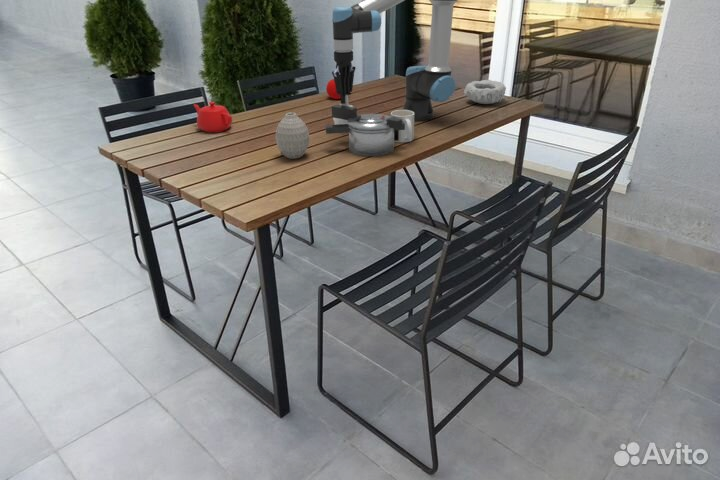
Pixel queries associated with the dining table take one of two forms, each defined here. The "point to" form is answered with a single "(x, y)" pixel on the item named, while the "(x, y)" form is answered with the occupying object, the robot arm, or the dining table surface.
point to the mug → (408, 119)
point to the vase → (292, 136)
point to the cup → (340, 121)
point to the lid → (365, 119)
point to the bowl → (485, 91)
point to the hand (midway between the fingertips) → (345, 110)
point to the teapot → (213, 118)
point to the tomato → (332, 90)
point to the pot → (367, 139)
